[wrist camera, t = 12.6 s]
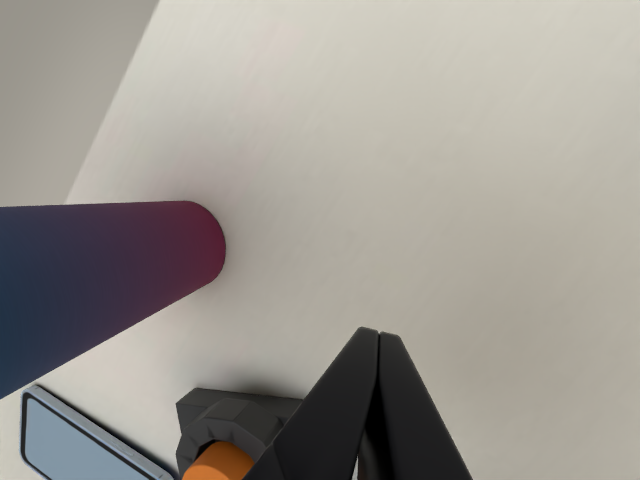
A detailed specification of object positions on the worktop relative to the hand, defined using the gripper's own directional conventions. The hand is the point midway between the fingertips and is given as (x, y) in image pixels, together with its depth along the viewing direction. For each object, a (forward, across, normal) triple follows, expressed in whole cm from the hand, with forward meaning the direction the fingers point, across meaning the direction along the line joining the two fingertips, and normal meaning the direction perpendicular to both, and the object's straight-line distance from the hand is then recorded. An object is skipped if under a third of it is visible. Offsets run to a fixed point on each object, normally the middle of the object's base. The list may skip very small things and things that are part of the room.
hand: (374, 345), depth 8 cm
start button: (+4, +5, +15) cm, 16 cm away
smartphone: (+7, +16, +25) cm, 31 cm away
